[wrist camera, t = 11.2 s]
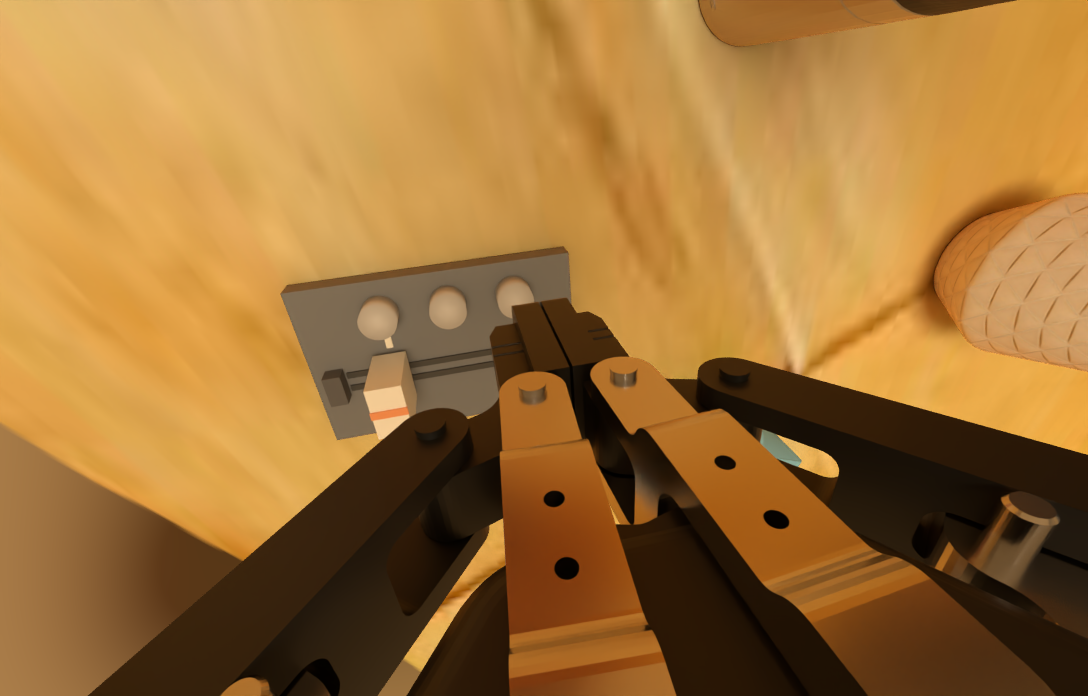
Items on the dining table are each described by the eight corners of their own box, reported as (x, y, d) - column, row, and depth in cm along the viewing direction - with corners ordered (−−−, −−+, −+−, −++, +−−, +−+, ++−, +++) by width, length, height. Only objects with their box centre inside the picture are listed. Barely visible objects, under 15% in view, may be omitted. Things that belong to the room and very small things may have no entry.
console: (563, 246, 44) (574, 260, 40) (571, 386, 52) (582, 408, 48) (287, 285, 41) (271, 304, 37) (340, 427, 49) (332, 456, 45)
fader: (406, 350, 43) (401, 386, 38) (417, 394, 46) (414, 433, 40) (371, 356, 43) (362, 393, 38) (385, 400, 45) (378, 440, 40)
